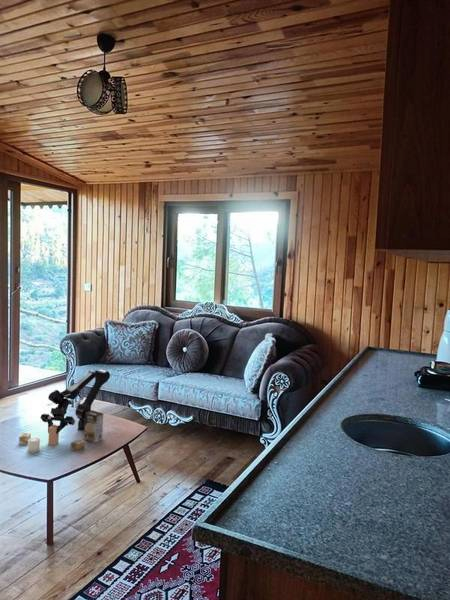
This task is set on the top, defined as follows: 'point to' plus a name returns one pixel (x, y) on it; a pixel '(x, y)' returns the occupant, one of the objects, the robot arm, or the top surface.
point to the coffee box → (93, 426)
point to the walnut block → (77, 445)
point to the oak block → (24, 438)
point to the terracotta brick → (53, 435)
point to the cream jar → (33, 445)
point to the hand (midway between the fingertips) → (52, 433)
